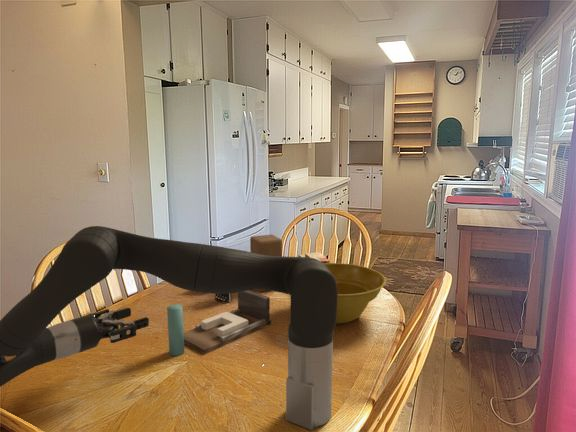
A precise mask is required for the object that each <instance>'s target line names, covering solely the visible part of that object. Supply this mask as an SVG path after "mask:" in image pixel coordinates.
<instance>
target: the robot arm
mask: <svg viewBox="0 0 576 432" xmlns="http://www.w3.org/2000/svg"><path fill="white" fill-rule="evenodd" d="M113 270H125V271H135V272H141V273H146V274H149V275H151V276H155V277H156V278H159V279H161V280H162V281H164V282H167V283H168V284H170V285H172V286H174V287H177V288H179V289H182V290H185V291H190V292H196V293H197V292H198V293H206V294H215V295H216V294H227V293H231V294H233V293H234V294H235V293H238V292H242V291H248V290H249V291H254V290H255V291H256V290H257V291H258V290H268V291H271V292H276V293H281V294H286V295H289V296H290V308H289V309H290V312H289V313H290V314H289V315H290V316H289V324H288V327H287V378H286V379H285V386H286V387H285V389H286V391H285V394H286V395H285V408H286V409H285V420H286V421H288V422H289V423H292V424H295V425H298V426H300V427H303V428H305V429H308V430H310V431H313V430H314V429H315V428H317V427H320V426H323V425H325V424H327V423H328V422H329V421H330V419H331V417H332V404H333V403H332V402H333V401H332V398H333V357H334V356H333V355H334V353H333V352H334V332H335V330H336V326H337V323H336V316H337V295H338V294H337V283H336V280H335V278H334V276H333V275H332V273H331V272H330V271H329V269H328V268H327V267H326V266H325V264H324V263H322V262H321V261H319V260H317V259H314V258H309V257H299V256H284V255H282V256H268V255H261V254H257V253H252V252H250V251H247V250H240V249H235V248H230V247H223V246H218V245H210V244H204V243H198V242H197V243H196V242H188V241H187V242H186V241H179V240H175V239H174V240H172V239H165V238H164V239H163V238H157V237H150V236H145V235H144V236H143V235H139V234H136V233H131V232H128V231H127V232H126V231H123V230H120V229H116V228H111V227H107V226H103V225H102V226H100V225H92V226H91V225H90V226H88V227H84V228H82V229H81V230H79V231H77V232H76V233H75V234H74V235H73V236H72V237H71V238H70V239H69V240H68V241H67V242H66V243H65V244H64V245H63V247H62V249H61V251H60V253H59V254H58V256H57V257H56V259H55V260H54V262H53V264H52V265H51V266H50V268H49V269H48V271H47V273H46V274H45V276H44V277H43V278H42V279H41V281H40V282H39V283H38V284H37V285H36V286H35V287H34V288H33V289H32V291H30V292H28V294H27V295H26V296H24V297H23V298H22V299H21V300H20V301H18V302H17V303H16V304H15V305H14V306H13V307H12V308H11V309H10V310H9V311H8V312H7V313H6V314H5V315H4V316H3V317H2V318H1V319H0V388H1V387H2V386H5V384H7V383H8V382H10V381H12V380H14V379H15V378H17V377H18V376H21V375H22V374H24V373H25V372H27V371H29V370H31V369H33V368H35V367H38V366H41V365H43V364H46V363H50V362H52V361H55V360H59V359H64V358H67V357H71V356H74V355H76V354H79V353H83V352H86V351H88V350H91V349H94V348H96V347H97V346H98V345H99V343H100V341H101V340H102V339H109V341H110V343H111V344H114V343H118V342H121V341H124V340H127V339H128V340H129V339H130V338H134V337H136V336H137V331H138V330H140V329H144V328H147V327H148V326H149V323H150V321H149V317H146V316H144V317H142V318H138V319H135V320H132V321H124V320H123V319H126V318H129V317H131V315H132V309H131V308H130V307H126V308H122V309H119V310H116V311H115V310H110V309H107V308H105V309H103V310H100V311H97V312H94V313H89V314H85V315H83V316H80V317H77V318H72V319H69V320H66V321H62V322H59V323H56V324H53V325H51V326H49V325H50V324H51V323H52V322H53V320H54V319H55V318H57V317H58V315H59V314H60V313H61V312H62V311H63V310H64V309H65V308H66V307H67V306H68V305H70V304H72V302H74V301H75V300H76V299H77V298H79V297H80V296H82V295H83V294H84V293H86V292H87V291H89V290H90V289H92V288H93V287H94V286H95V285H97V284H99V283H100V282H102V281H103V280H104V279H105V280H106V278H107V277H109V275H110V274H111V273H112V271H113ZM6 357H13V358H12V359H10V360H7V359H6Z"/></svg>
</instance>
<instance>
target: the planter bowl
mask: <svg viewBox="0 0 576 432" xmlns="http://www.w3.org/2000/svg"><path fill="white" fill-rule="evenodd" d="M324 264H325V266H326V267H327V268H328V269H329V271H330V272H331V273H332V275H333V276H334V278H335V280H336V283H337V294H338V295H337V316H336V325H338V324H346V323H350V322H353V321H355V320H356V319H358V318H359V317H361V315H362V314H363V312H364V311H365V310H366V308H367V306H368V305H369V303H370V302H372V301H373V300H375V299H376V298H377V297H378V295H379V294H380V291H381V290H382V288H383V287H385V286H386V284H387V278H386V277H385V276H384V275H383V273H381V272H380V271H377V270H375V269H373V268H370V267H368V266H367V267H366V266H363V265H358V264H357V265H356V264H352V263H351V264H350V263H341V262H339V263H337V262H330V263H324Z"/></svg>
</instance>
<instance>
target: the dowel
mask: <svg viewBox="0 0 576 432" xmlns="http://www.w3.org/2000/svg"><path fill="white" fill-rule="evenodd" d="M183 309H184V308H183V305H182V304H178V303H177V304H170V305H168V306H167V308H166V311H167V314H166V315H167V328H168V329H167V330H168V331H167V335H168V354H169V355H170V356H172V357H179V356H182V355H184V354H185V343H184V333H185V330H184V329H185V328H184V312H183V311H184V310H183Z"/></svg>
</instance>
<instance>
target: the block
mask: <svg viewBox="0 0 576 432" xmlns="http://www.w3.org/2000/svg"><path fill="white" fill-rule="evenodd" d="M249 240H250V241H249V243H250V251H249V252H252V253H257V254H261V255H268V256H283V240H282V238H280V237H278V236H276V235H274V234H264V235H253V236H251V237H250V239H249ZM257 291H258V292H260V293H261V292H265V291H266V292H267V291H269V290H257Z"/></svg>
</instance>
